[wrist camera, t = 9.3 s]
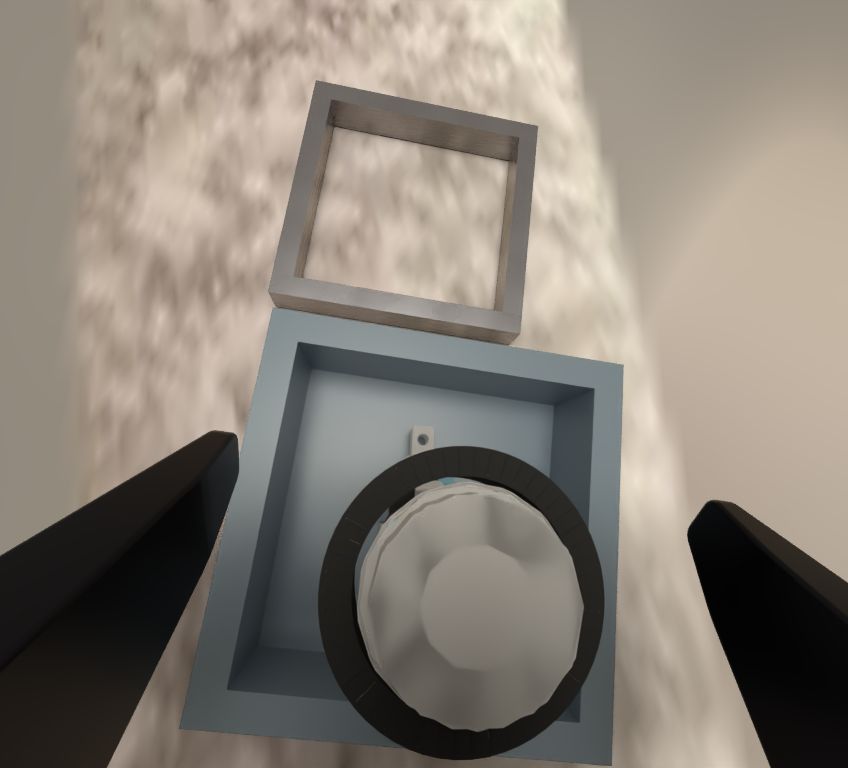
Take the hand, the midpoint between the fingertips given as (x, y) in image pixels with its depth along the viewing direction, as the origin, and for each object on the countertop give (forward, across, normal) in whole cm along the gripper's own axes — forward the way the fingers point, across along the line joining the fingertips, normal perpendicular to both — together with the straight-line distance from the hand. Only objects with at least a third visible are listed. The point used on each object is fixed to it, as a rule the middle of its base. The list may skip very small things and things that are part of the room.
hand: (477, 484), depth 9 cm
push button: (+6, 0, +8) cm, 10 cm away
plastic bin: (+6, 0, +8) cm, 10 cm away
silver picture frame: (+15, +2, -1) cm, 15 cm away
